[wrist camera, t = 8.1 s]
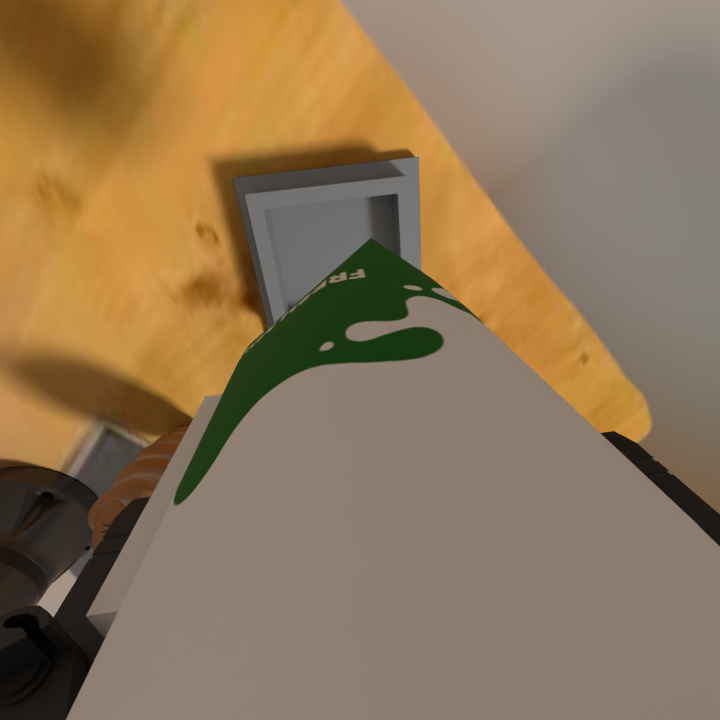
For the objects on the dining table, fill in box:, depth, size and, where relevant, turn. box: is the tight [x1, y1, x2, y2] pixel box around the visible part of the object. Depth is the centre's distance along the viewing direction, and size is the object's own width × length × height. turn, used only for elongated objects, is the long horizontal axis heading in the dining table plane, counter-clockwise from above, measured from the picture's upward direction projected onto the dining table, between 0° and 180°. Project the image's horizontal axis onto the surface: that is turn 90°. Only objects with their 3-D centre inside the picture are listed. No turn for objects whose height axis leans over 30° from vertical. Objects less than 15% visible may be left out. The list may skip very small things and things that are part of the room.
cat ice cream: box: [78, 426, 189, 577], centre depth 35 cm, size 9×8×18 cm
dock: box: [233, 157, 421, 328], centre depth 33 cm, size 16×16×4 cm
